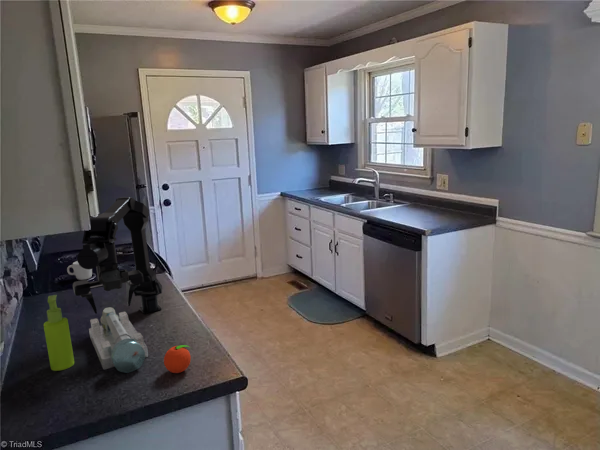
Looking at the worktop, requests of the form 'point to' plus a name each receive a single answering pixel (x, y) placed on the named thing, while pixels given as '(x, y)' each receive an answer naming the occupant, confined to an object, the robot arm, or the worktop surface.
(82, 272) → the cup
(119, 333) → the electric toothbrush handle
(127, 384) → the worktop surface
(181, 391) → the worktop surface
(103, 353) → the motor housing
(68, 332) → the soap dispenser
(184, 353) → the clementine
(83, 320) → the worktop surface
